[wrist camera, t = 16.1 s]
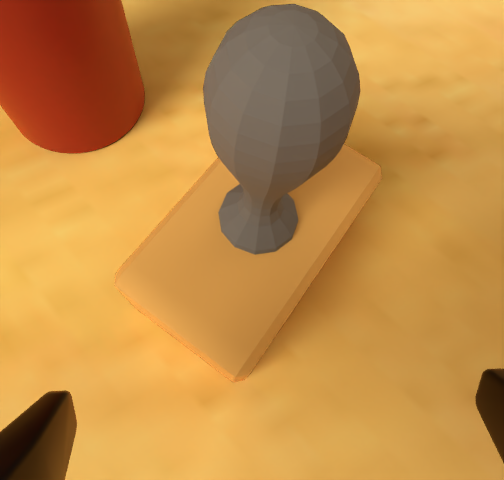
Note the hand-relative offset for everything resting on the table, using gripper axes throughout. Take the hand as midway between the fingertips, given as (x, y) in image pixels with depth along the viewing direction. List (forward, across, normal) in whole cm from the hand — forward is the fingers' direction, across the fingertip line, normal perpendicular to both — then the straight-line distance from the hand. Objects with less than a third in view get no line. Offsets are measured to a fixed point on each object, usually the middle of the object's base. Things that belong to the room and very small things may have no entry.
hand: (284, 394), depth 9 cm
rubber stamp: (+10, 0, +1) cm, 10 cm away
